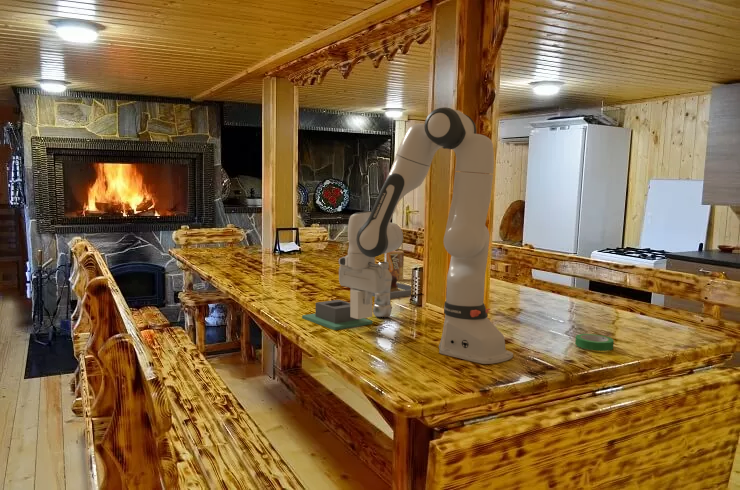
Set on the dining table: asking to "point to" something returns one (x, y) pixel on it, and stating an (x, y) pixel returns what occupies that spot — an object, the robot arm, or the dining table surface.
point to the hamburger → (393, 284)
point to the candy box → (395, 263)
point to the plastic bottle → (383, 294)
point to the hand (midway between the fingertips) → (361, 302)
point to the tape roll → (594, 342)
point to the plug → (359, 305)
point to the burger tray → (403, 293)
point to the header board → (339, 325)
